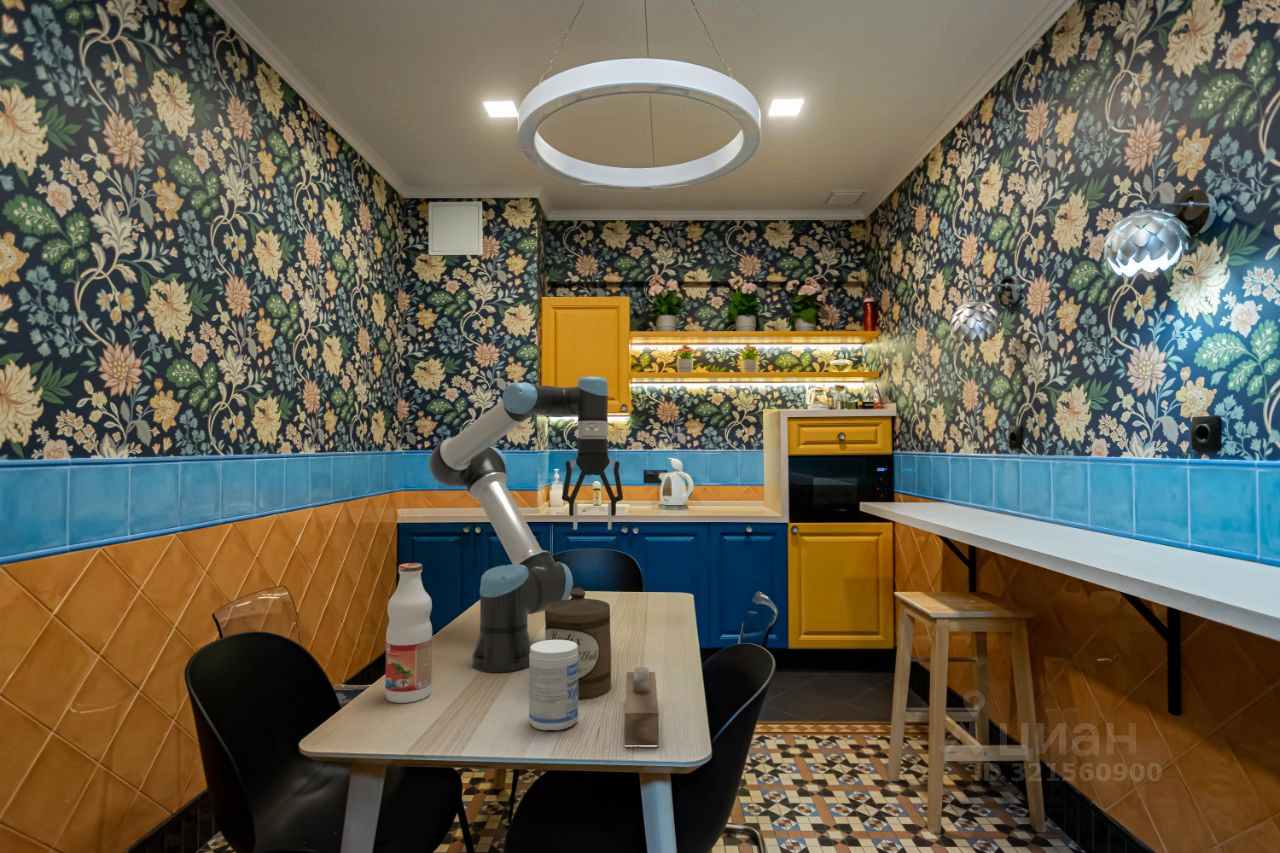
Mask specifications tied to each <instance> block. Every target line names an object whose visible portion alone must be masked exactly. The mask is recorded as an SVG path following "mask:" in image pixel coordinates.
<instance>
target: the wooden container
mask: <svg viewBox="0 0 1280 853" xmlns="http://www.w3.org/2000/svg"><path fill="white" fill-rule="evenodd" d="M585 596H586V590H584V589H583V588H582V587H574V588H572V590H571V591H570V597H571V598H569V599H568V600H561V601H556V602H552V603H550V604H547V605H546V606H545V611H544V620H545V628H544V631H545V632H544V635H545V636H544V641H546V640H568V641H572V642H575V643H576V644H577V646H578V700H585V699H590V698H595V697H599V696H601V695H604V694H605V693H607V692H608V691H610V689H611V686H612V644H611V639H612V638H611V607H610V606H611V605H610V604H609V603H608V602H607V601H604V600H601V599H593V598H585ZM584 698H585V699H584Z"/></svg>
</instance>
